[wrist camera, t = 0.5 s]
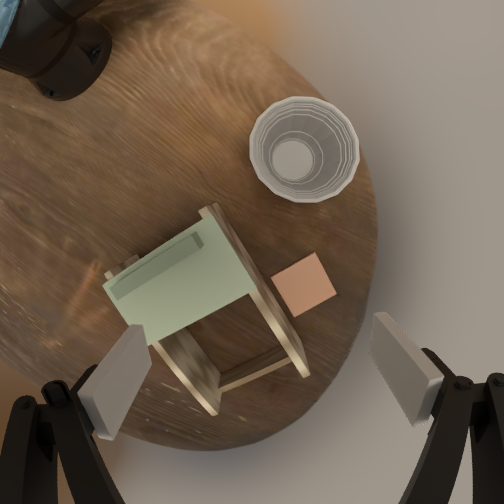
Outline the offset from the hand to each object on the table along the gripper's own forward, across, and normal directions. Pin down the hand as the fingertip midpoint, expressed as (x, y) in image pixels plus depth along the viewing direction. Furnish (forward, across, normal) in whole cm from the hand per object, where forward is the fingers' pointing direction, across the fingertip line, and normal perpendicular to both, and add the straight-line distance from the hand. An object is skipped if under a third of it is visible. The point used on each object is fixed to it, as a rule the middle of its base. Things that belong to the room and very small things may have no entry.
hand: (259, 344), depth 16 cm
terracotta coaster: (+25, +6, -6) cm, 27 cm away
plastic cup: (+26, +5, +12) cm, 29 cm away
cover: (+16, -9, -2) cm, 19 cm away
